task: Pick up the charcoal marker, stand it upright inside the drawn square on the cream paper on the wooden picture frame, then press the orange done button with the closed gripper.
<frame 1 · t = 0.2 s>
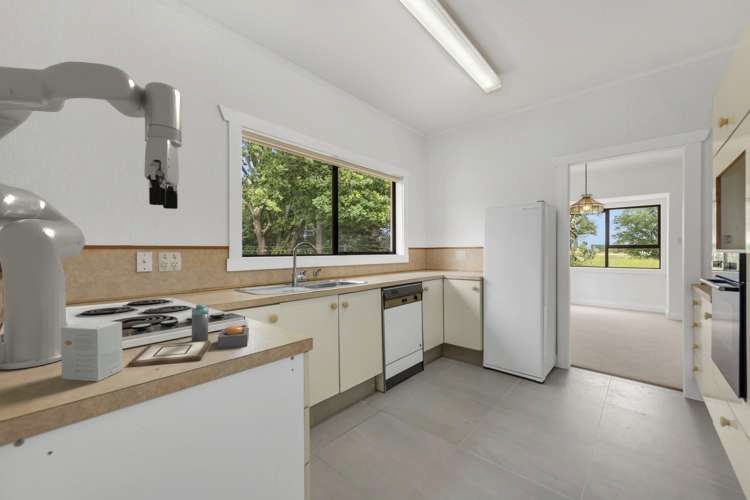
hand: (164, 206, 78), 36 cm above the counter, tool pointing down, fingers open, 9 cm apart
done button: (234, 331, 85), point 3 cm above the counter, slide at 0.0 cm
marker: (199, 341, 86), on the counter
small box: (93, 376, 64), on the counter
button housing: (234, 343, 85), on the counter
wooden picture frame: (173, 353, 76), on the counter
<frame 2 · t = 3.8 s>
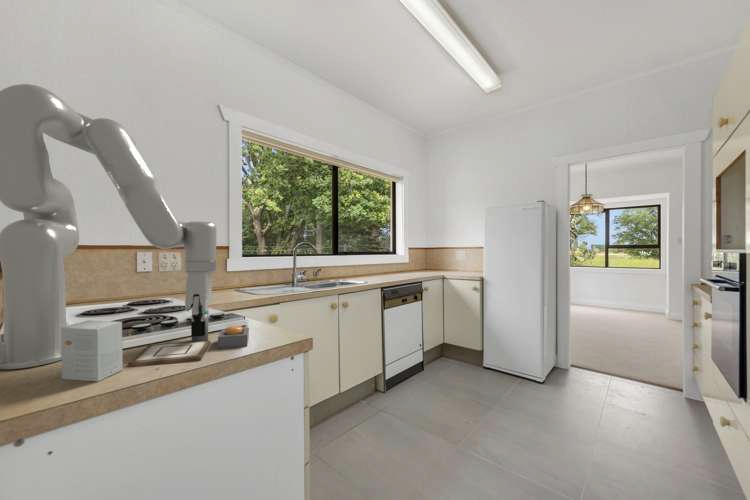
hand: (200, 332, 86), 2 cm above the counter, tool pointing down, fingers closed on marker, 4 cm apart
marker: (200, 341, 86), on the counter, touching gripper
everything else where it was.
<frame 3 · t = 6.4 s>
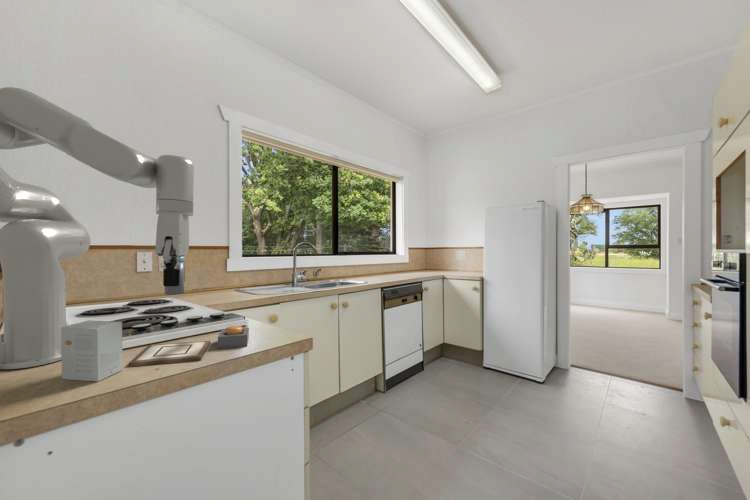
hand: (174, 283, 76), 17 cm above the counter, tool pointing down, fingers closed on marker, 4 cm apart
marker: (174, 293, 76), point 15 cm above the counter, touching gripper
everything else where it was.
when the fingers open (4 cm above the counter, at t = 9.1 s): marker stays where it is, resting on wooden picture frame.
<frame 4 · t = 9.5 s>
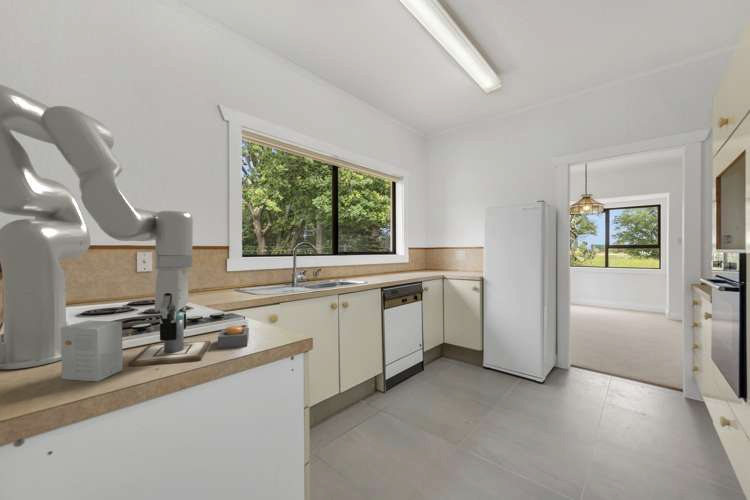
hand: (173, 334, 76), 5 cm above the counter, tool pointing down, fingers open, 8 cm apart
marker: (173, 350, 76), point 1 cm above the counter, touching wooden picture frame
everything else where it was.
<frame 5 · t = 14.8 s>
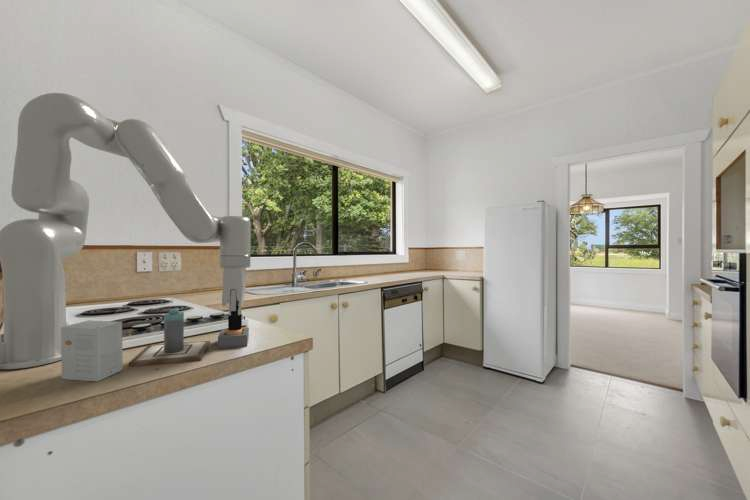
hand: (235, 329, 85), 4 cm above the counter, tool pointing down, fingers closed
done button: (234, 332, 85), point 3 cm above the counter, slide at 0.4 cm, touching gripper
everything else where it was.
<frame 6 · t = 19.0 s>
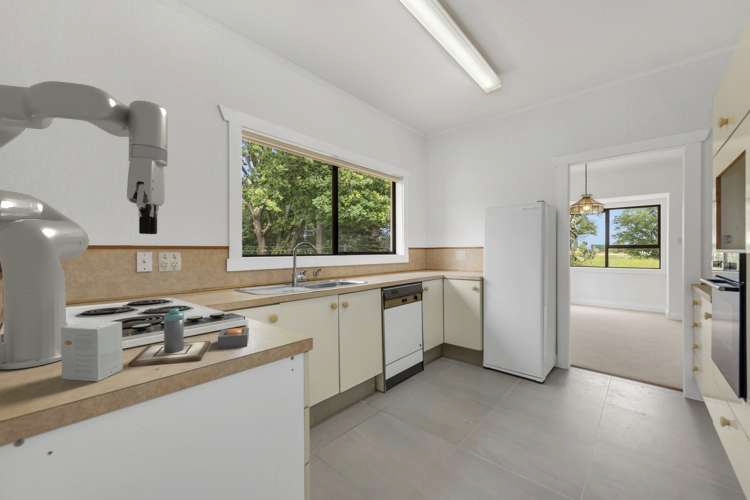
hand: (148, 233, 75), 29 cm above the counter, tool pointing down, fingers closed
done button: (234, 334, 85), point 2 cm above the counter, slide at 0.8 cm
everything else where it was.
at the end: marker 0.0 cm off-centre on the wooden picture frame, point 0.9 cm above the wooden picture frame's base; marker tilted 0°; done button slide at 0.8 cm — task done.
